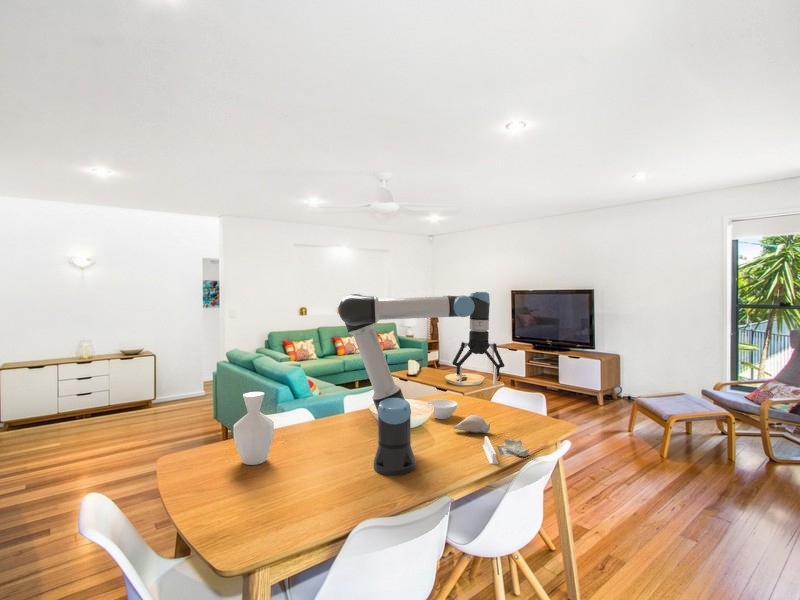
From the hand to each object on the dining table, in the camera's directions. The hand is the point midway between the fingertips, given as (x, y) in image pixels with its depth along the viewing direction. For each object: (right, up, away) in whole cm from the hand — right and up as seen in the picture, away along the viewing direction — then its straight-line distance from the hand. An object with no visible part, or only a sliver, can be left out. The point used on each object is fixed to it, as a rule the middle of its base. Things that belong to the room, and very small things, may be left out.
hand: (477, 383), depth 157 cm
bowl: (-10, -26, +44) cm, 52 cm away
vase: (-86, -27, -9) cm, 90 cm away
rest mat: (+14, -26, -3) cm, 30 cm away
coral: (+11, -26, -1) cm, 28 cm away
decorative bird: (-4, -28, +19) cm, 34 cm away
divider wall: (+4, -26, -5) cm, 27 cm away
